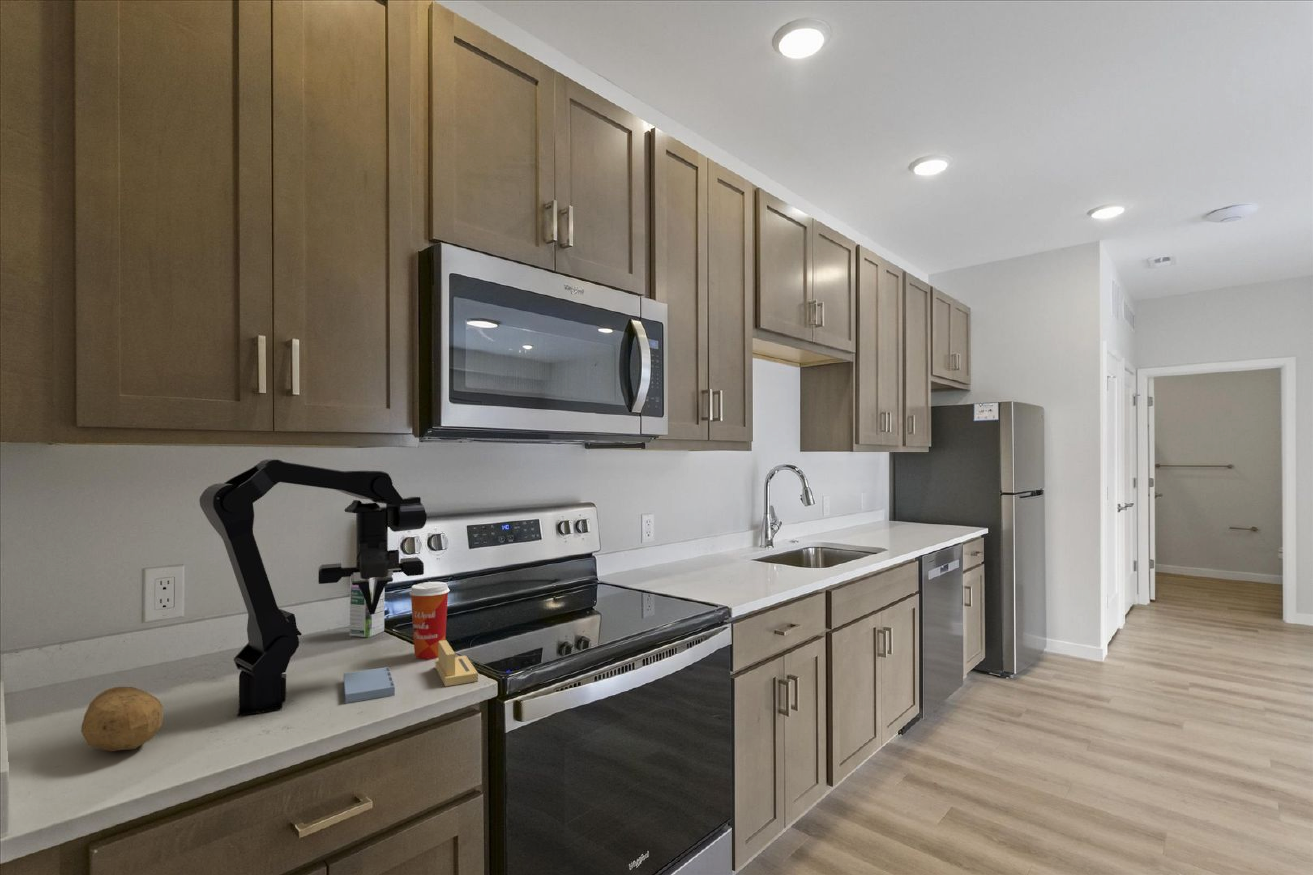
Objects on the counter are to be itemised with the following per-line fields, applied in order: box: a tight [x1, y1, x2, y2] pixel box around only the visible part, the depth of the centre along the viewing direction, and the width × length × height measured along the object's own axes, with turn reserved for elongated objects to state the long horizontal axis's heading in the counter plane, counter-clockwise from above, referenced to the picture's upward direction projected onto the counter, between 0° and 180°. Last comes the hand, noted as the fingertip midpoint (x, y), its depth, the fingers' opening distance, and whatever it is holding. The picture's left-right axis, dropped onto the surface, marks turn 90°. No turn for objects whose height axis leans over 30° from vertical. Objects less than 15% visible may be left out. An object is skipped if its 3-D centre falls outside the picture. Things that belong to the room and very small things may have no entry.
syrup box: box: [348, 576, 386, 638], centre depth 157 cm, size 6×6×14 cm
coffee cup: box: [408, 581, 451, 660], centre depth 140 cm, size 8×8×15 cm
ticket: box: [343, 666, 396, 704], centre depth 121 cm, size 8×12×2 cm, turn 27°
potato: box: [80, 686, 164, 752], centre depth 97 cm, size 10×14×8 cm
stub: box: [434, 639, 479, 687], centre depth 128 cm, size 6×12×6 cm, turn 27°
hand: (371, 613), depth 128 cm, fingers closed
